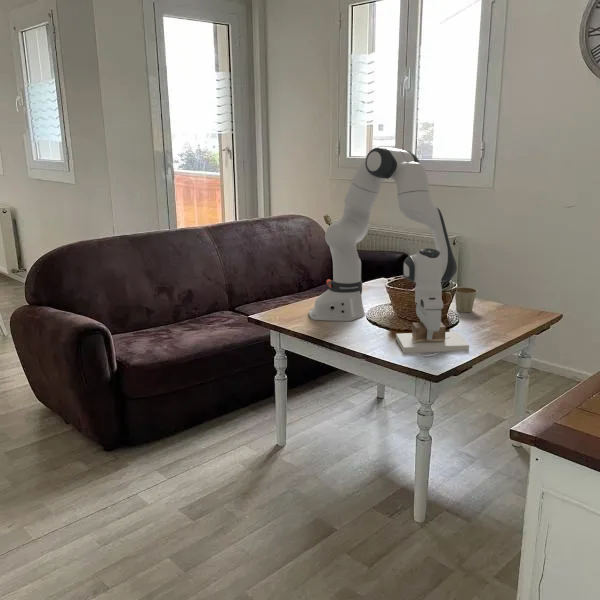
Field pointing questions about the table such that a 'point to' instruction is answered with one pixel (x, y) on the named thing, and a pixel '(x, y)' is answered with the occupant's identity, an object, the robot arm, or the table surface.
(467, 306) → the flower pot
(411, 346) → the marked board
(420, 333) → the block
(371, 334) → the table surface
